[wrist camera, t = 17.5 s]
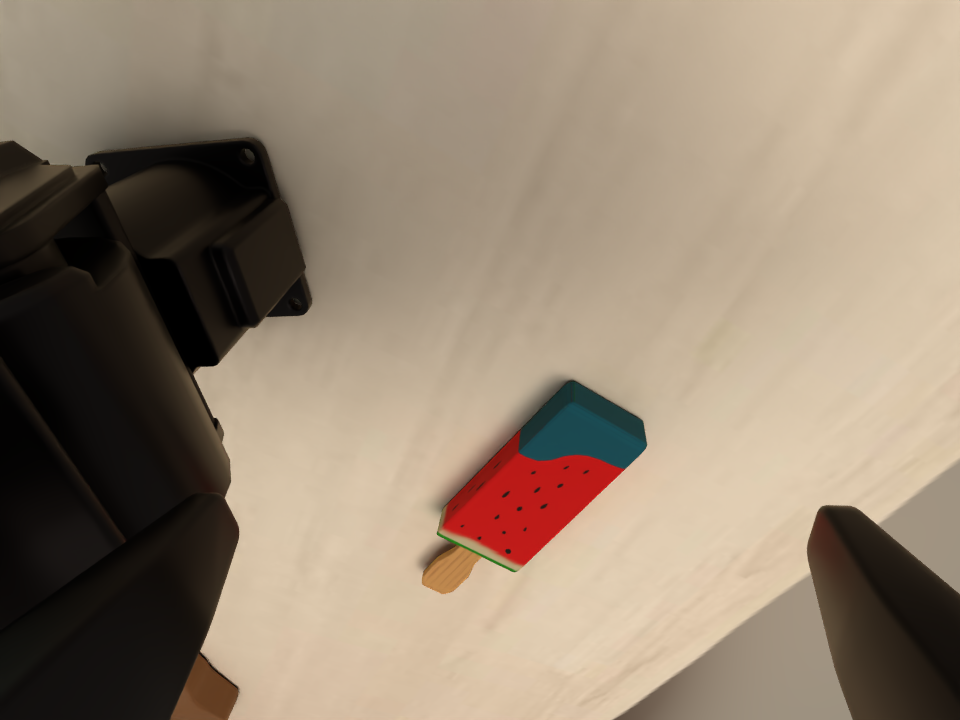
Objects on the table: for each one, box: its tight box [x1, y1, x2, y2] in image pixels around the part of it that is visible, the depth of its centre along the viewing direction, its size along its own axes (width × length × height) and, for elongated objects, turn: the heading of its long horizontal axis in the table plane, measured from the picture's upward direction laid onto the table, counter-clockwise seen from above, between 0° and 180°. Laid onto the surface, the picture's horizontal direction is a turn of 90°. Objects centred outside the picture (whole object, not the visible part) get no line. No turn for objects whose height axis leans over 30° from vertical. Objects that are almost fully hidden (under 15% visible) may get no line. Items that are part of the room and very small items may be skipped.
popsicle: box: [422, 381, 647, 594], centre depth 27 cm, size 5×2×15 cm
